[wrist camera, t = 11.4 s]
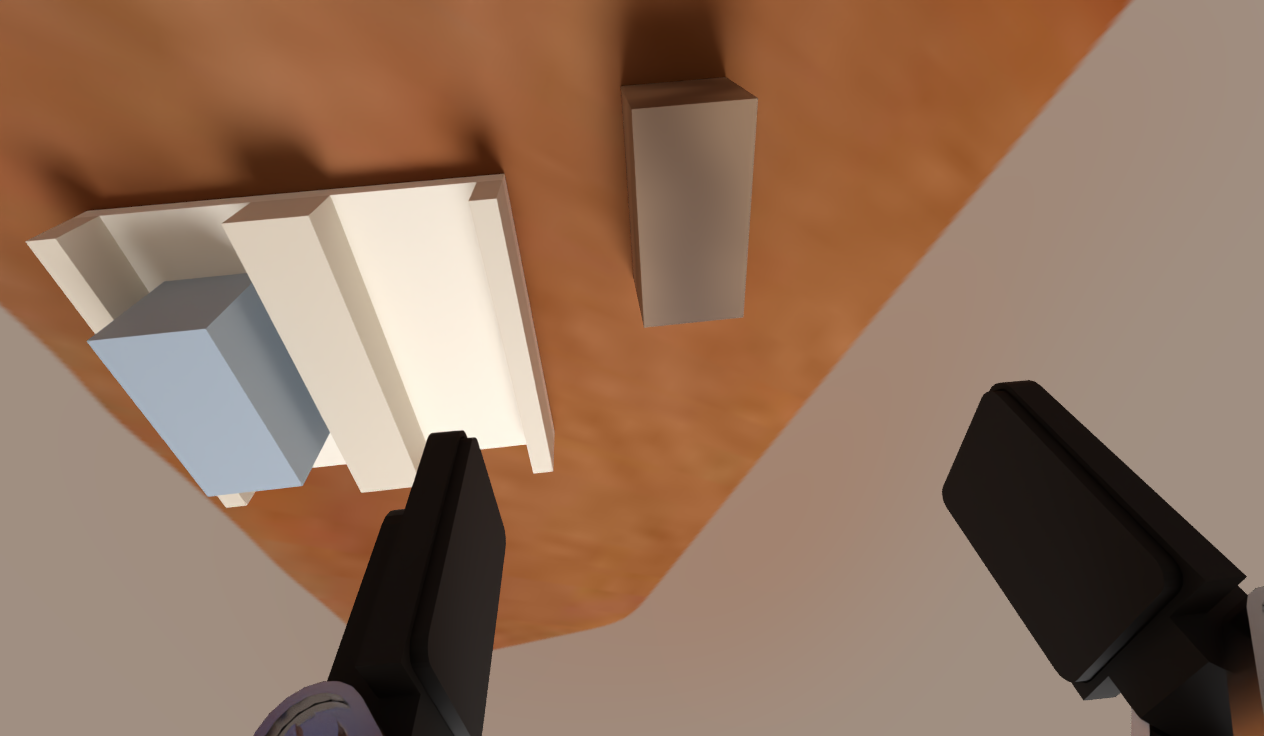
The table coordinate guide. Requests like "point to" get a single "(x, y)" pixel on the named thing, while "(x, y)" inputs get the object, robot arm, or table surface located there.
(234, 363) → the slate bar
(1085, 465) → the robot arm
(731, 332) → the table surface
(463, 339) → the slot board
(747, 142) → the walnut bar
